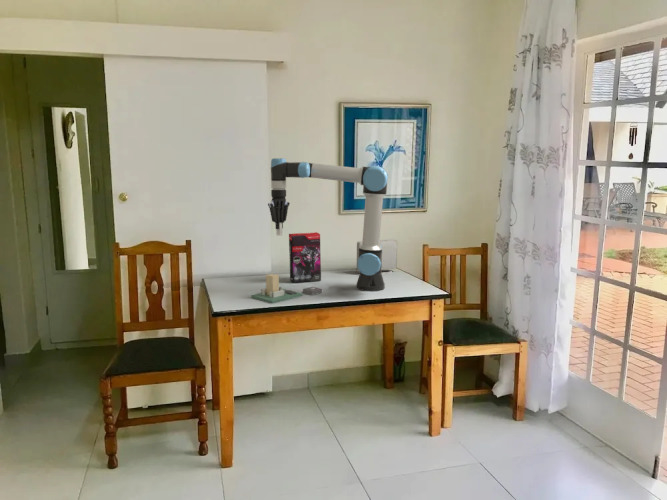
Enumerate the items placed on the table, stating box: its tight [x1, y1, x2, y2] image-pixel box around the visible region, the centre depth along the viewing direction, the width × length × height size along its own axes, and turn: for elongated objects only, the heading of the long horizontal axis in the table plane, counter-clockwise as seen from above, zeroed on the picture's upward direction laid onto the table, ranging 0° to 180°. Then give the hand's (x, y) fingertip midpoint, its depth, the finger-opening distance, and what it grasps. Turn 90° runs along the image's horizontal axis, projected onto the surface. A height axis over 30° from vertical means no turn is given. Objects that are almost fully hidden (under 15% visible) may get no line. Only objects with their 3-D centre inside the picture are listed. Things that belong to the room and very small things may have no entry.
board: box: [250, 286, 303, 304], centre depth 267 cm, size 16×20×4 cm
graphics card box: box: [288, 231, 322, 284], centre depth 300 cm, size 17×7×27 cm, turn 111°
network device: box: [356, 238, 398, 275], centre depth 323 cm, size 26×9×20 cm, turn 114°
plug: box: [265, 273, 280, 295], centre depth 266 cm, size 6×4×10 cm
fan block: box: [302, 286, 323, 296], centre depth 275 cm, size 7×7×2 cm
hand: (279, 235), depth 274 cm, fingers closed
